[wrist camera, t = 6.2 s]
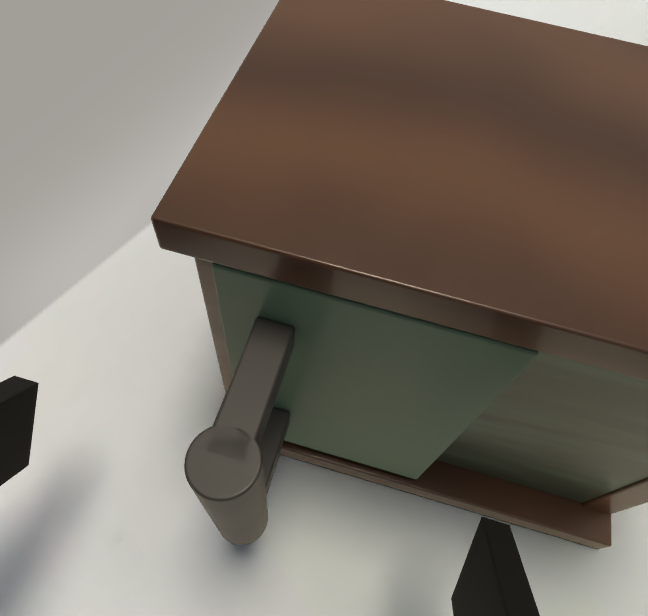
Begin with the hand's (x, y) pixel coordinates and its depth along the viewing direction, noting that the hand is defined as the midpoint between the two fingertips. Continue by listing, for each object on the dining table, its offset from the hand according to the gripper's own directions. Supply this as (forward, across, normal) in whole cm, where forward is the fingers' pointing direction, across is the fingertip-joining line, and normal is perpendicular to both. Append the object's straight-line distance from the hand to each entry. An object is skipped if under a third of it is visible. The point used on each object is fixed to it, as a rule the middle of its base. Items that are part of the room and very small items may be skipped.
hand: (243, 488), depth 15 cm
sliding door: (+5, +2, -3) cm, 6 cm away
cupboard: (+10, +6, +1) cm, 12 cm away
